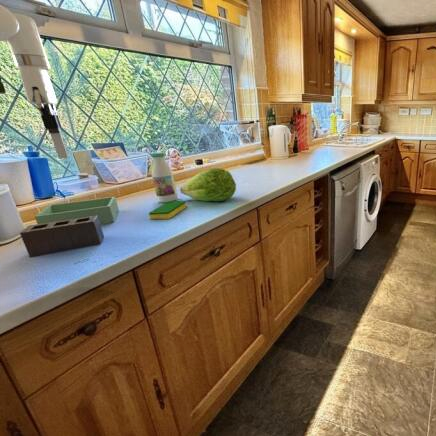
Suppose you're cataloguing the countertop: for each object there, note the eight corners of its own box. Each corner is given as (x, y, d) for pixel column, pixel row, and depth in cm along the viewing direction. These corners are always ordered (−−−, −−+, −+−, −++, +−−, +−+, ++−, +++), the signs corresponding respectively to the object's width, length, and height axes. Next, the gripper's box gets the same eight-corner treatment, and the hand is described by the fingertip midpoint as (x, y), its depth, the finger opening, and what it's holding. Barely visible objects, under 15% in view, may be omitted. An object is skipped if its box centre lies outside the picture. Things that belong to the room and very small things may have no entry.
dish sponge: (187, 206, 118) (185, 200, 117) (169, 218, 105) (168, 212, 104) (169, 207, 118) (167, 201, 117) (149, 219, 105) (147, 212, 104)
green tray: (41, 233, 96) (34, 216, 94) (54, 220, 108) (49, 205, 106) (114, 221, 104) (109, 206, 102) (119, 210, 116) (115, 196, 114)
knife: (57, 159, 97) (41, 109, 92) (60, 158, 99) (43, 109, 94) (68, 158, 98) (51, 109, 93) (69, 157, 100) (54, 109, 95)
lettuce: (200, 195, 138) (187, 167, 131) (244, 191, 129) (232, 161, 123) (178, 211, 126) (162, 181, 119) (225, 208, 117) (210, 176, 111)
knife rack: (29, 257, 80) (19, 232, 77) (37, 248, 85) (28, 225, 82) (100, 244, 86) (93, 221, 84) (104, 236, 91) (97, 215, 89)
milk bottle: (162, 198, 132) (151, 151, 125) (180, 197, 132) (171, 151, 126) (154, 203, 124) (143, 154, 118) (174, 202, 125) (163, 153, 118)
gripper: (25, 67, 94) (46, 128, 101) (3, 59, 81) (29, 130, 87) (56, 67, 97) (74, 126, 104) (39, 60, 84) (61, 128, 90)
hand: (53, 127), depth 95 cm, fingers closed on knife, 2 cm apart
